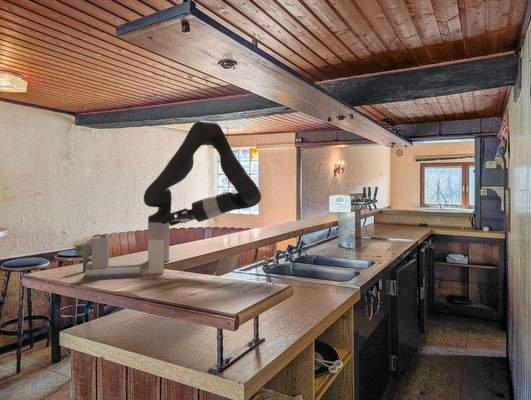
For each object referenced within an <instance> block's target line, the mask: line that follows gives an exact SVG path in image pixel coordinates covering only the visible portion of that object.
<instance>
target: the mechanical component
mask: <svg viewBox="0 0 531 400" xmlns="http://www.w3.org/2000/svg"><path fill="white" fill-rule="evenodd" d="M74 250H75V255H76V256H81V260H82V272H86V265H87V264H89V262H88V261H89V259H90V255H92V242H91V243H81V244H77V245H75V247H74Z"/></svg>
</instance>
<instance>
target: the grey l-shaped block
mask: <svg viewBox="0 0 531 400" xmlns="http://www.w3.org/2000/svg"><path fill="white" fill-rule="evenodd" d="M91 243H92V254H91V263H88V264H87V265H86V271H85V273H84V275H83V276H82V277H83V278H82V280H83V281H93V280H94V281H97V280H112V279H111V278H118V279H131V278H130V277H138V278H142V277H143V276H142V275H143V271H142V270H143V269H142V268H141V263H140V264H121V265H120V264H115V265H110V237H109V236H107V234H99V237H96V236H95V237H92V238H91ZM126 277H128V278H126Z"/></svg>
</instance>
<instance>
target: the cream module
mask: <svg viewBox="0 0 531 400" xmlns="http://www.w3.org/2000/svg"><path fill="white" fill-rule="evenodd" d="M164 262H165V261H164V239H162V237H155V239H149V261H148V274H149V275H151V274H154V273H156V274H164V273H165V272H164V270H165V269H164V265H165V263H164ZM154 275H155V274H154Z"/></svg>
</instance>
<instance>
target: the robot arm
mask: <svg viewBox="0 0 531 400" xmlns="http://www.w3.org/2000/svg"><path fill="white" fill-rule="evenodd" d="M230 145H231V144H229V141H228V140H227V137H226V134H225V133H224V132H223V130H222V127H221V126H220V125H219V123H217V122H215V121H208V120H199V121H195V123H193V125H192V126H191V127H190V129H189V131H188V133H187V135H186V136H185V138H184V140H183V142H182V143H181V145H180V146H179V148H178V149H177V151H176V152H175V154H174V155H173V156H172V157H171V159H170V160H169V162H167V164H166V165H165V167H164V168H163V170H162V171H161V172H160V174H159V175H158V176H157V177H156V178H155V179H154V181H152V182H151V184H150V185H148V187H147V188H146V190H145V191H144V195H143V203H144V204H145V205H146V207H149V208H157V211H156V212H155V213H153V214H151V215H149V216H148V217H147V262H149V239H155V237H162V239H164V262H168V261H170V227H173V226H176V225H178V224H186V223H188V222H191V221H194V220H196V221H197V222H198V223H201V222H205V221H207V220H209V219H214V218H217V217H219V216H220V215H223V214H225V213H229V212H232V211H236V210H242V209H244V210H245V209H248V208H252V207H255V206H257V205H258V204H259V203H261V200H262V194H261V192H260V190H259V188H258V185H256V183H255V181H254V180H253V179H252V178H251V177H250V176H249V175H248V173H247V171H246V170H245V168H244V167H243V166H242V164H241V163H240V161H239V159H238V158H237V157H236V156H235V154H234V152H233V150H232V148H231V146H230ZM202 146H211V147H213V148H214V149H215V150H216V151H217V153H218V155H219V162H220V167H221V170H222V172H223V174H224V175H225V176H226V179H227V180H228V181H229V183H230V184H231V185H232V186H233V187H234V189H235V191H236V192H231V191H226V192H223V193H219V194H216V195H214V196H212V195H211V196H209V197H206V198H202V199H199V200H196V201H193V202H192V203H191V209H188V208H182V209H179V210H177V211H174V212H172V200H173V199H172V192H171V190H170V188H171V187H173V186H175V185H177V184H178V183H180V182H182V181H183V180H184V179H186V178H187V176H188V175H189V174H190V172H191V171H192V170H193V167H194V156H195V153H196V152H197V151H198V149H199V148H201V147H202ZM175 216H176V217H175Z"/></svg>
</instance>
